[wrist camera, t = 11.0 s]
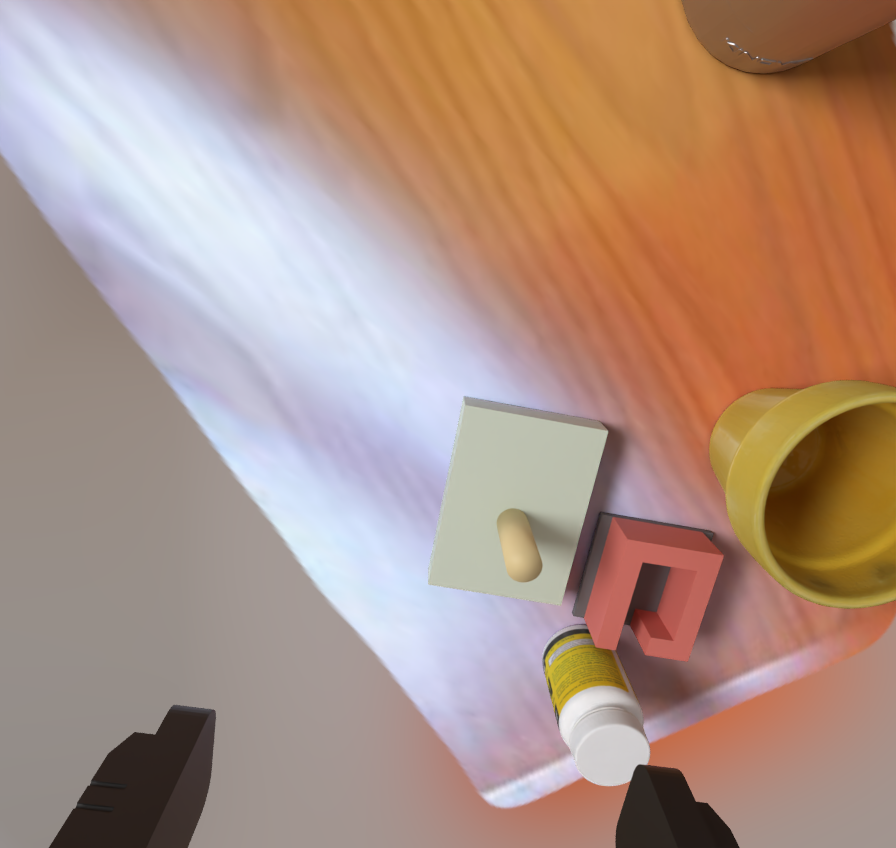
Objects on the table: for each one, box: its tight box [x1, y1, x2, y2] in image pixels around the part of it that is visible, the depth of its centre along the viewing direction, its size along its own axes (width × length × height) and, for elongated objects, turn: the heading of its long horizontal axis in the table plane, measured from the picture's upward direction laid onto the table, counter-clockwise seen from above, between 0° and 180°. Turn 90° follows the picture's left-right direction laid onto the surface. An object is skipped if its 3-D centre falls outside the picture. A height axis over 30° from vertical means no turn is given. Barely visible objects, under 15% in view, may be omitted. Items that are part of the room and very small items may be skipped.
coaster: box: [572, 512, 713, 625], centre depth 39 cm, size 7×7×1 cm
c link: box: [584, 517, 724, 662], centre depth 38 cm, size 7×6×3 cm
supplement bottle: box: [542, 625, 650, 786], centre depth 37 cm, size 5×5×8 cm
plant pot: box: [709, 380, 896, 609], centre depth 33 cm, size 10×10×10 cm
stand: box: [428, 396, 608, 606], centre depth 34 cm, size 11×8×7 cm
